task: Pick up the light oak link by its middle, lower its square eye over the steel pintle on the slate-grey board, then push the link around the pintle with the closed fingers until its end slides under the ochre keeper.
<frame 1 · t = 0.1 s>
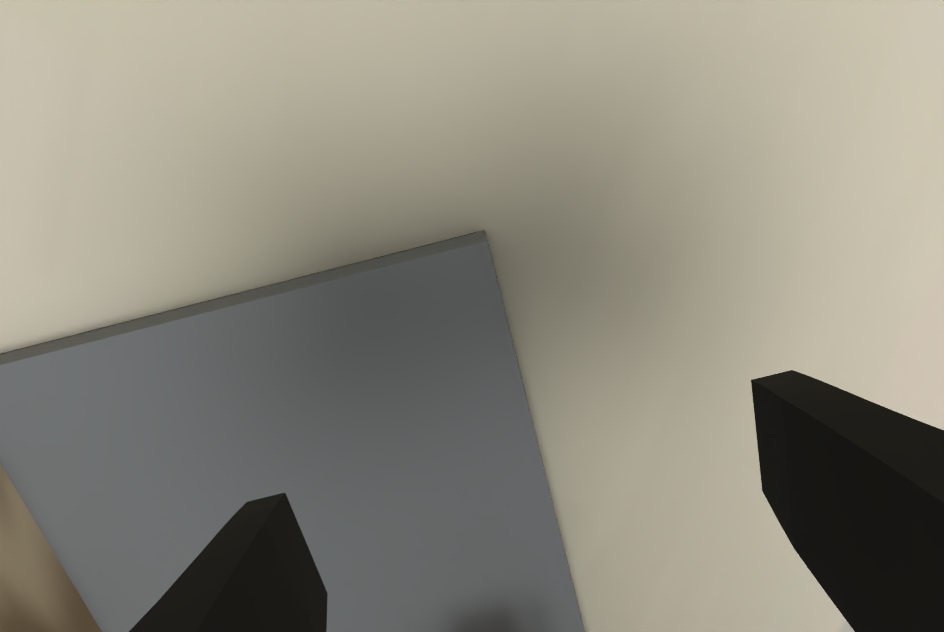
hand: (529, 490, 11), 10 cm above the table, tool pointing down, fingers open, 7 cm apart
slate board: (258, 613, 24), on the table
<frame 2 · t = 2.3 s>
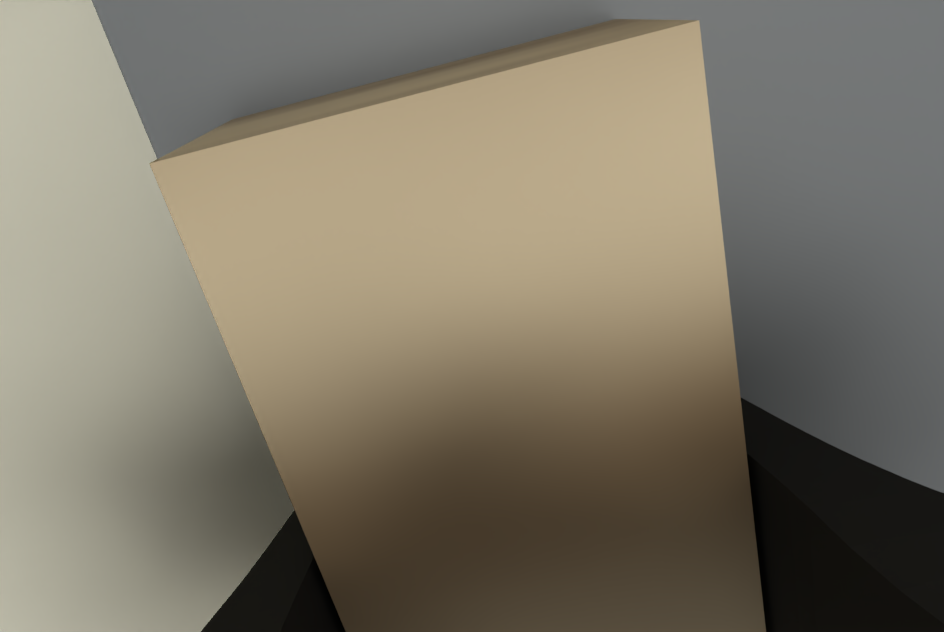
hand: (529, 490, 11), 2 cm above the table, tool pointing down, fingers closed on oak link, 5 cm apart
oak link: (534, 507, 12), point 1 cm above the table, touching gripper, slate board
slate board: (914, 450, 13), on the table
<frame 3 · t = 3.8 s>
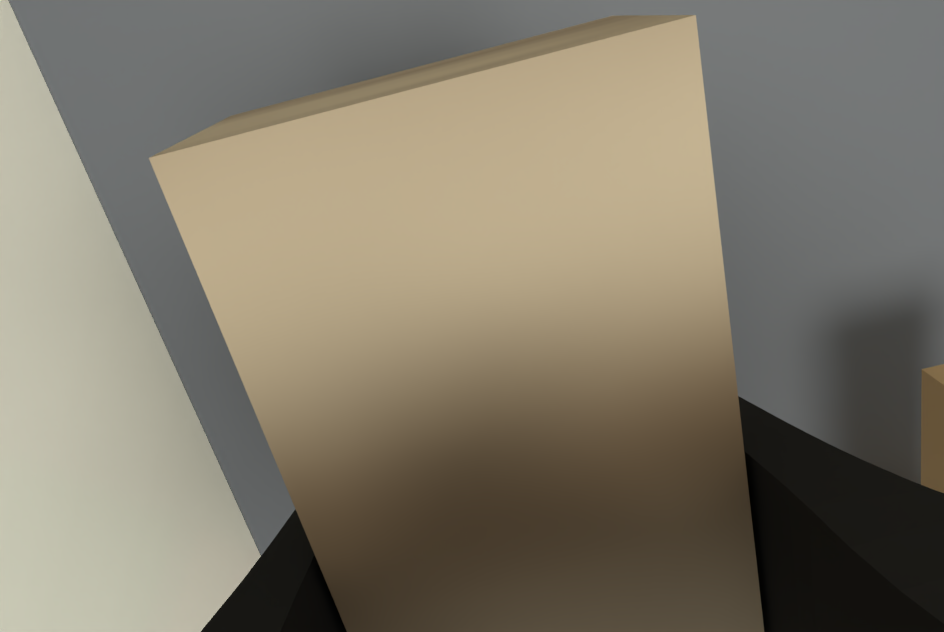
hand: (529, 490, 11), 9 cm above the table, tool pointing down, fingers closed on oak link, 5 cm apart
oak link: (532, 503, 12), point 8 cm above the table, touching gripper
slate board: (588, 312, 19), on the table
when the fingers open (3 cm above the table, at t = 5.6 s): oak link drops 1 cm, resting on slate board.
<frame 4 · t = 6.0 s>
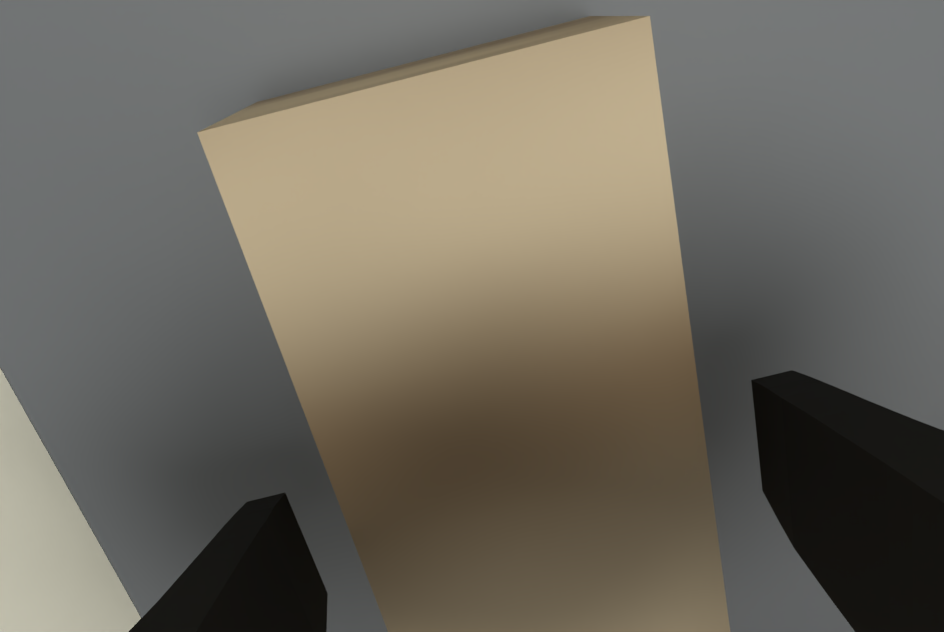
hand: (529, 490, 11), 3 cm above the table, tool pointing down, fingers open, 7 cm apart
oak link: (521, 454, 13), point 1 cm above the table, touching slate board
slate board: (645, 418, 14), on the table
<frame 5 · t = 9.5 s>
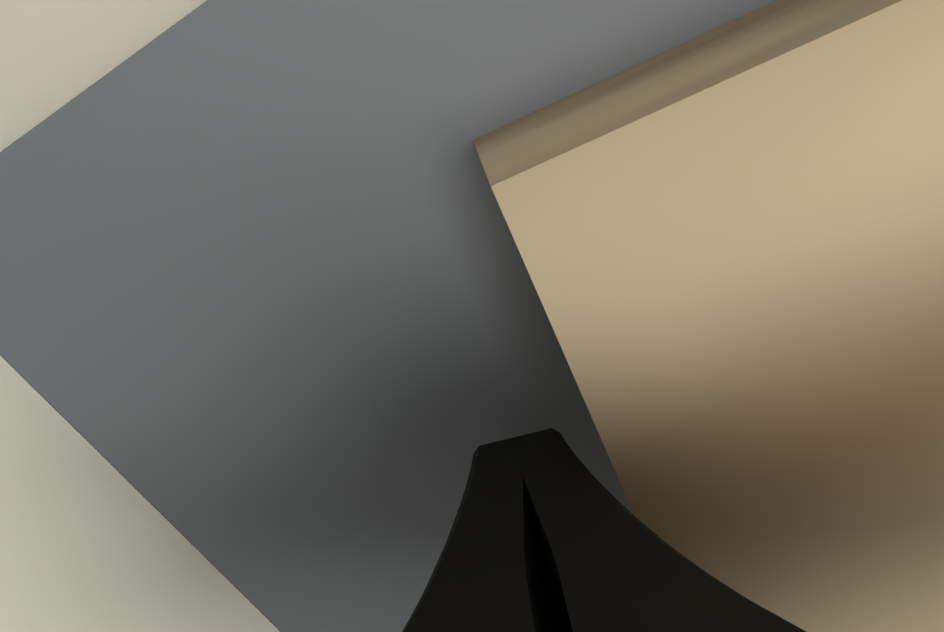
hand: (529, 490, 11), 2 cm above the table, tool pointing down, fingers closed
oak link: (767, 453, 13), point 1 cm above the table, touching gripper, slate board
slate board: (813, 404, 13), on the table
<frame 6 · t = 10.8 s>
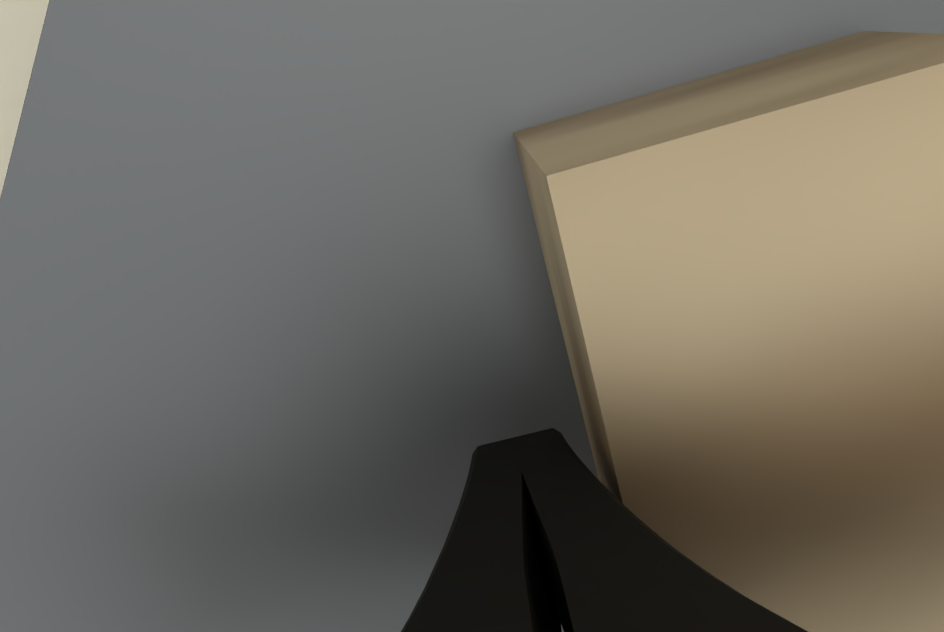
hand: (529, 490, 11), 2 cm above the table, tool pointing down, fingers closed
oak link: (746, 483, 13), point 1 cm above the table, touching gripper, slate board
slate board: (620, 473, 14), on the table
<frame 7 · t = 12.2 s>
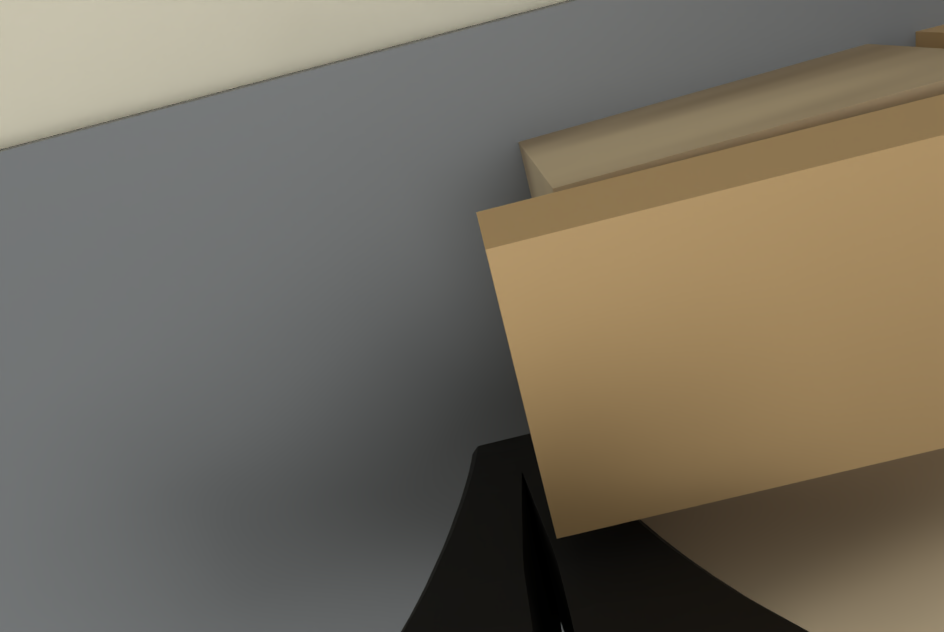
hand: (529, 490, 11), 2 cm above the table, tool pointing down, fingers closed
oak link: (746, 490, 13), point 1 cm above the table, touching gripper, slate board
slate board: (517, 588, 15), on the table
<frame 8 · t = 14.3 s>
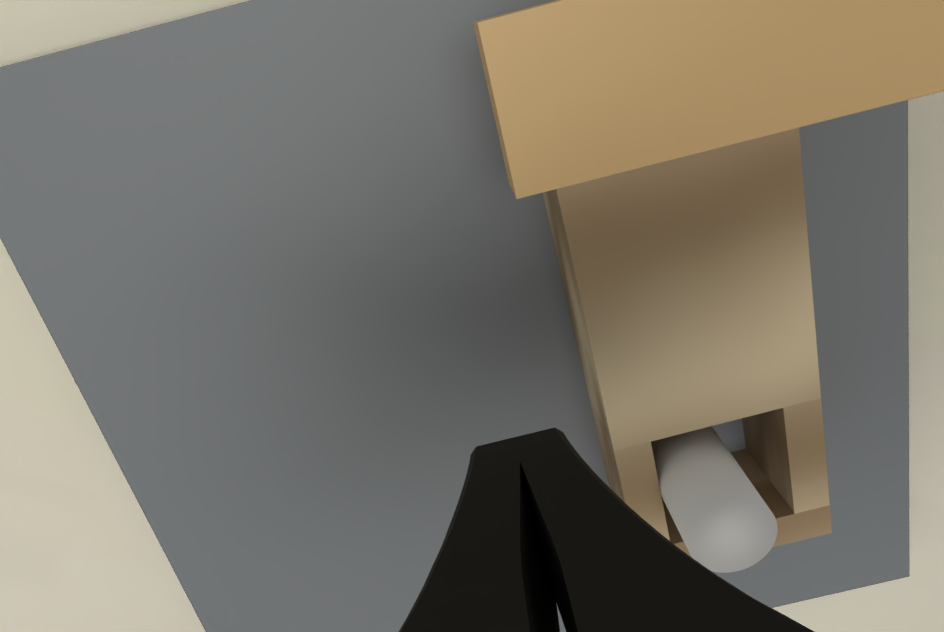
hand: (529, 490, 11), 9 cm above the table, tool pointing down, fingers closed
oak link: (659, 271, 19), point 1 cm above the table, touching slate board
slate board: (503, 361, 21), on the table
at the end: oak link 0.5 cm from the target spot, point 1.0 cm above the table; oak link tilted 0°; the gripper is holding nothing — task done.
